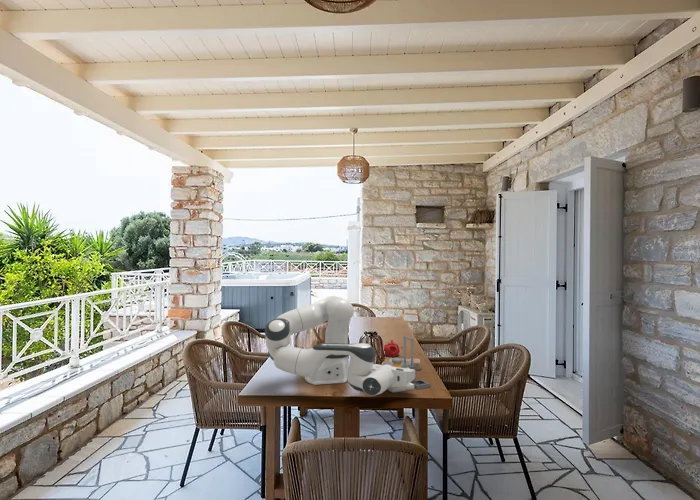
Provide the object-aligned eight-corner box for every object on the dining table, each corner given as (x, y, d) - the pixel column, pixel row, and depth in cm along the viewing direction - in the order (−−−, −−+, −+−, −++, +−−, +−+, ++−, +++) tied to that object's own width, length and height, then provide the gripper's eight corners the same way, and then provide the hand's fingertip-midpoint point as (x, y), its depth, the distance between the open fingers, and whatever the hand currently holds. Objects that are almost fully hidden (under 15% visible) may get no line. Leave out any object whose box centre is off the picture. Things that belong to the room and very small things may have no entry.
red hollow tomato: (379, 355, 236) (379, 340, 236) (391, 353, 243) (391, 337, 243) (391, 358, 229) (391, 342, 229) (403, 355, 235) (403, 339, 235)
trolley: (392, 381, 186) (392, 341, 187) (383, 376, 195) (383, 337, 195) (416, 378, 192) (415, 339, 192) (406, 373, 200) (405, 335, 200)
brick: (388, 369, 207) (388, 360, 207) (389, 365, 215) (389, 356, 215) (420, 371, 205) (420, 362, 205) (420, 366, 213) (420, 358, 213)
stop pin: (394, 388, 176) (394, 360, 176) (390, 384, 180) (390, 358, 180) (404, 387, 177) (404, 360, 177) (400, 383, 182) (399, 357, 182)
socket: (416, 389, 176) (416, 385, 176) (407, 384, 182) (407, 381, 182) (430, 387, 179) (430, 383, 179) (421, 382, 185) (421, 379, 185)
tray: (392, 392, 171) (392, 387, 171) (380, 385, 181) (380, 380, 182) (414, 389, 176) (414, 384, 176) (401, 382, 186) (401, 377, 186)
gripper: (364, 379, 172) (376, 371, 184) (409, 387, 163) (419, 377, 175) (364, 365, 172) (376, 358, 184) (409, 371, 163) (419, 363, 175)
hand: (397, 367), depth 180 cm, fingers open, 8 cm apart
